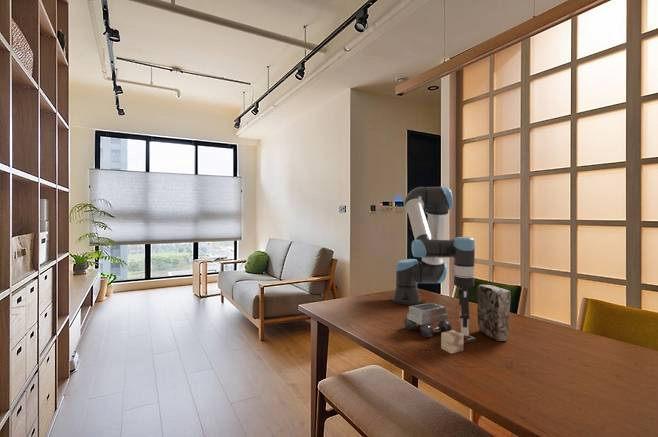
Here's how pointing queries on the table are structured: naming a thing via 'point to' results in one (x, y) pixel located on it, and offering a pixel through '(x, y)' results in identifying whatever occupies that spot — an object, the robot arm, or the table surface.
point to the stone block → (493, 311)
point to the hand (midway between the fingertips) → (463, 329)
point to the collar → (469, 339)
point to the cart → (427, 318)
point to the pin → (460, 322)
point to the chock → (452, 341)
